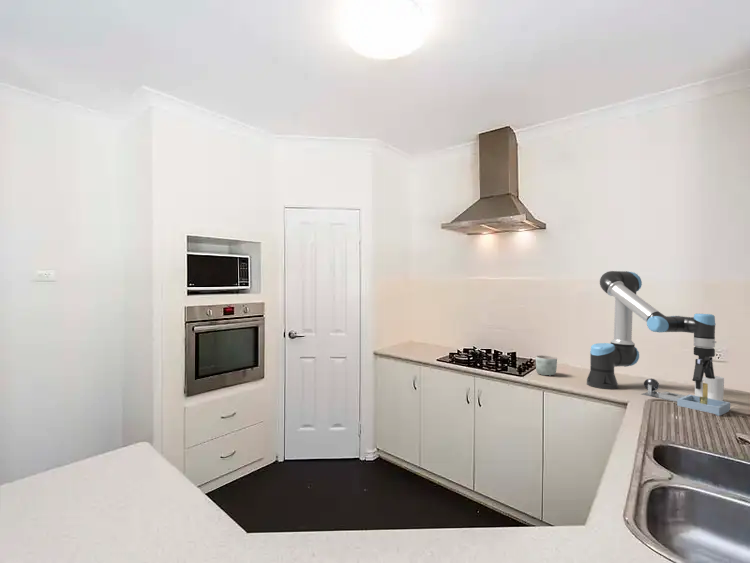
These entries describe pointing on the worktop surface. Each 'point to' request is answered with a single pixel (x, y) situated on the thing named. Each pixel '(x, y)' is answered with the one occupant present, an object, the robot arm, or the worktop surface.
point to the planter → (546, 365)
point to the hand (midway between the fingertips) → (703, 394)
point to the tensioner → (654, 385)
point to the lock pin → (704, 394)
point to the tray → (712, 407)
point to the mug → (716, 388)
